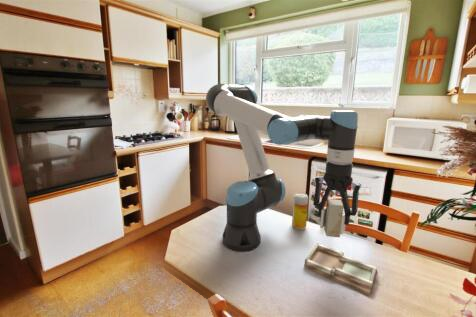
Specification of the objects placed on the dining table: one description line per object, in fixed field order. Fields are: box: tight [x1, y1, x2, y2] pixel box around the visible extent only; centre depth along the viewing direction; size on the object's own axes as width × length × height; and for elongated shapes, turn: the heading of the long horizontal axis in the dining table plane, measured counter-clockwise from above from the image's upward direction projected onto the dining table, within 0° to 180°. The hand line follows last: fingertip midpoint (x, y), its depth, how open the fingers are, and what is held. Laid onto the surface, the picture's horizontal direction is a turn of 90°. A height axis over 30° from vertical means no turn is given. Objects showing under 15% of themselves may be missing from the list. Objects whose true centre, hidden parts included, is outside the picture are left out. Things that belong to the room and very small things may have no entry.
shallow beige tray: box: [303, 243, 378, 296], centre depth 83 cm, size 20×13×2 cm, turn 54°
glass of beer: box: [291, 192, 309, 230], centre depth 107 cm, size 6×6×15 cm
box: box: [323, 198, 344, 238], centre depth 81 cm, size 5×4×11 cm
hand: (332, 229), depth 82 cm, fingers closed on box, 6 cm apart
